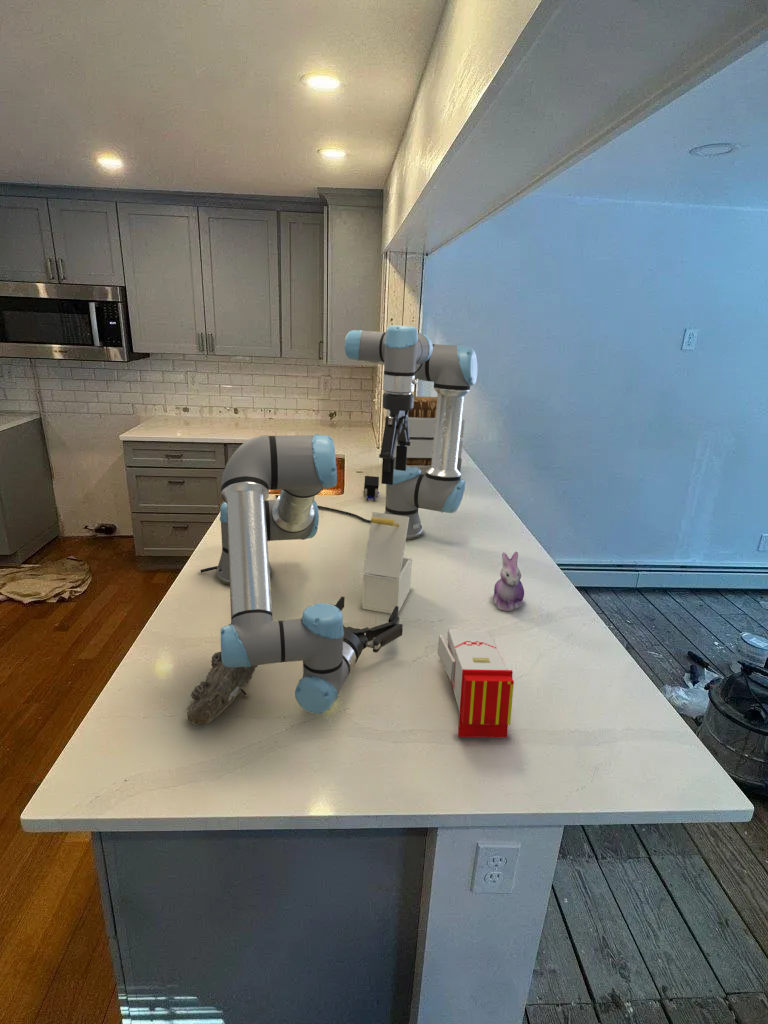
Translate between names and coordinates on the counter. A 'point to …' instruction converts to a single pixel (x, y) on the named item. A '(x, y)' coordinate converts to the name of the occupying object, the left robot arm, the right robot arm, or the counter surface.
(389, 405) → the right robot arm
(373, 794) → the counter surface
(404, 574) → the chest
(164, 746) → the counter surface
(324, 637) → the left robot arm
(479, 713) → the toy
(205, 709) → the fossil
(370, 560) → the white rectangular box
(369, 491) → the figurine character
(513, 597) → the figurine
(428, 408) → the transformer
